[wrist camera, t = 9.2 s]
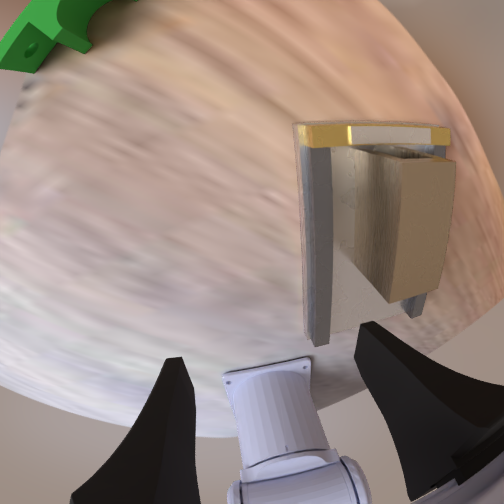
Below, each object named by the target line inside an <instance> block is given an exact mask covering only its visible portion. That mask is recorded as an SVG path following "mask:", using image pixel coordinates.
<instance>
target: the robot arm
mask: <svg viewBox="0 0 504 504" xmlns="http://www.w3.org/2000/svg"><path fill="white" fill-rule="evenodd" d="M354 359H355V361H356V364H357V367H358V369H359V372H360V374H361V377H362V379H363V380H364V382H365V384H366V386H367V388H368V389H369V391H370V393H371V395H372V397H373V398H374V400H375V402H376V404H377V405H378V407H379V409H380V411H381V413H382V414H383V416H384V419H385V420H386V423H387V425H388V428H389V430H390V433H391V435H392V438H393V441H394V443H395V447H396V450H397V452H398V456H399V459H400V463H401V466H402V470H403V474H404V478H405V483H406V488H407V493H408V497H409V499H410V501H414V500H416V499H418V498H420V497H421V496H423V495H425V494H427V493H429V492H430V491H432V490H434V489H436V488H437V489H436V490H435V491H433V492H432V493H430V494H428V495H426V496H424V497H423V498H421V499H419V500H417V501H415V502H413V503H411V504H504V386H502V385H496V384H491V383H488V382H484V381H480V380H477V379H474V378H471V377H468V376H465V375H463V374H460V373H458V372H455V371H453V370H451V369H449V368H447V367H445V366H443V365H441V364H439V363H437V362H435V361H433V360H431V359H429V358H428V357H426V356H425V355H423V354H421V353H420V352H418V351H417V350H415V349H413V348H412V347H410V346H409V345H407V344H406V343H404V342H403V341H402V340H400V339H399V338H397V337H396V336H394V335H393V334H392V333H390V332H389V331H387V330H386V329H385V328H383V327H382V326H380V325H379V324H377V323H376V322H374V321H369V322H366V323H362V324H360V328H359V334H358V339H357V345H356V350H355V355H354ZM310 378H311V361H310V358H307V357H306V358H301V359H297V360H292V361H288V362H283V363H279V364H274V365H269V366H264V367H259V368H253V369H248V370H242V371H236V372H230V373H225V374H223V375H222V380H223V384H224V387H225V390H226V393H227V396H228V399H229V402H230V405H231V407H232V410H233V413H234V416H235V419H236V423H237V430H238V437H239V443H240V450H241V456H242V462H243V470H240V475H241V480H237V481H234V482H233V483H232V485H231V486H230V488H229V489H228V493H227V504H372V498H371V492H370V488H369V485H368V482H367V479H366V477H365V474H364V472H363V470H362V469H361V467H360V466H359V464H358V463H357V462H356V461H355V460H353V459H351V458H349V457H348V456H342V457H339V455H338V453H337V450H336V449H330V446H329V444H328V441H327V438H326V436H325V433H324V430H323V427H322V425H321V422H320V419H319V416H318V414H317V411H316V408H315V405H314V403H313V400H312V397H311V395H310ZM195 432H196V405H195V394H194V387H193V384H192V382H191V379H190V377H189V374H188V372H187V369H186V367H185V364H184V361H183V359H182V357H176V358H167V359H166V360H165V362H164V364H163V367H162V369H161V372H160V374H159V376H158V378H157V381H156V383H155V385H154V387H153V389H152V391H151V393H150V395H149V397H148V399H147V401H146V403H145V405H144V407H143V409H142V411H141V412H140V414H139V416H138V418H137V420H136V421H135V423H134V425H133V426H132V428H131V430H130V431H129V433H128V434H127V435H126V437H125V438H124V440H123V441H122V442H121V444H120V445H119V446H118V448H117V449H116V450H115V452H114V453H113V454H112V455H111V457H110V458H109V459H108V460H107V461H106V462H105V463H104V464H103V465H102V466H101V468H100V469H99V470H98V471H97V472H96V473H95V474H94V475H93V476H92V477H91V478H90V479H89V480H87V481H86V482H85V483H84V484H83V485H82V486H80V487H79V488H78V489H77V490H76V491H74V492H73V493H72V495H71V499H70V504H201V503H200V496H199V489H198V483H197V475H196V466H195Z"/></svg>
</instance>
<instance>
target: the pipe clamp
mask: <svg viewBox="0 0 504 504" xmlns="http://www.w3.org/2000/svg"><path fill="white" fill-rule="evenodd" d="M110 1H112V0H32V1H31V2H30V3H29V4H28V6H27V7H26V8H25V9H24V10H23V12H22V13H21V14H20V15H19V17H18V18H17V19H16V21H15V22H14V24H13V25H12V26H11V27H10V29H9V30H8V32H7V33H6V34H5V36H4V38H3V39H2V40H1V42H0V69H5V70H14V71H20V72H27V73H33V74H34V73H35V72H36V70H37V69H38V67H39V66H40V65H41V63H42V62H43V60H44V59H45V58H46V56H47V55H48V54H49V52H50V51H51V50H52V49H53V47H54V46H55V45H56V44H57V42H58V43H61V44H63V45H65V46H68V47H70V48H72V49H74V50H76V51H79V52H81V53H83V54H85V53H86V52H87V51H88V50H89V49H90V48H91V46H92V44H91V43H90V42H89V40H88V38H87V25H88V22H89V20H90V18H91V17H92V15H93V14H94V13H95V12H96V11H97V10H98V9H99V8H100V7H101V6H103V5H104V4H106V3H108V2H110ZM134 1H136V2H137V1H138V0H134Z"/></svg>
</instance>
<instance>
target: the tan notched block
mask: <svg viewBox="0 0 504 504" xmlns="http://www.w3.org/2000/svg"><path fill="white" fill-rule="evenodd" d="M354 164H355V235H354V259H353V264H354V265H355V266H356V267H357V269H358V270H359V271H360V272H361V273H362V274H363V275H364V276H365V277H366V279H367V280H368V281H369V282H370V283H371V284H372V285H373V287H374V288H375V289H376V290H377V291H378V292H379V293H380V295H381V296H382V297H383V298H384V299H385V300H386V302H387V303H388V304H391V303H394V302H398V301H401V300H404V299H407V298H410V297H414V296H417V295H420V294H423V293H426V292H429V291H432V290H435V289H437V288H438V285H439V281H440V277H441V273H442V268H443V263H444V259H445V254H446V248H447V243H448V237H449V230H450V224H451V217H452V209H453V200H454V189H455V176H456V162H455V161H451V160H448V159H445V158H442V157H438V156H435V155H431V154H428V153H424V152H420V151H417V150H413V149H409V148H405V147H395V156H391V155H388V154H384V153H381V152H377V151H373V150H370V149H366V148H360V149H354Z"/></svg>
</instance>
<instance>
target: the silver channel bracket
mask: <svg viewBox="0 0 504 504" xmlns="http://www.w3.org/2000/svg"><path fill="white" fill-rule="evenodd" d="M292 125H293V135H294V146H295V157H296V169H297V181H298V195H299V210H300V227H301V246H302V269H303V303H304V333H305V335H306V338H307V340H309V339H311V340H312V342H313V345H314V347H318V346H322V345H326V344H329V339H330V334H333V333H337V332H341V331H344V330H348V329H352V328H355V327H359V326H360V324H362V323H366V322H369V321H374V322H376V321H379V320H382V319H386V318H389V317H392V316H395V315H398V314H401V313H404V312H406V313H407V314H408V315H409V317H410V318H414V317H417V316H420V315H421V314H422V310H423V307H424V303H425V299H426V295H427V292H426V293H423V294H420V295H417V296H414V297H410V298H407V299H404V300H401V301H398V302H394V303H391V304H388V303H387V302H386V300H385V299H384V298H383V297H382V296H381V295H380V293H379V292H378V291H377V290H376V289H375V288H374V287H373V285H372V284H371V283H370V282H369V281H368V280H367V279H366V277H365V276H364V275H363V274H362V273H361V272H360V271H359V270H358V269H357V267H356V266H355V265H354V264H353V259H354V235H355V164H354V149H360V148H366V149H370V150H373V151H377V152H381V153H384V154H388V155H391V156H395V147H405V148H409V149H413V150H417V151H420V152H424V153H428V154H431V155H435V156H438V157H442V158H445V148H446V146H450V129H449V128H443V127H439V125H434V124H425V123H411V122H391V121H328V122H307V123H292Z"/></svg>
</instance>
